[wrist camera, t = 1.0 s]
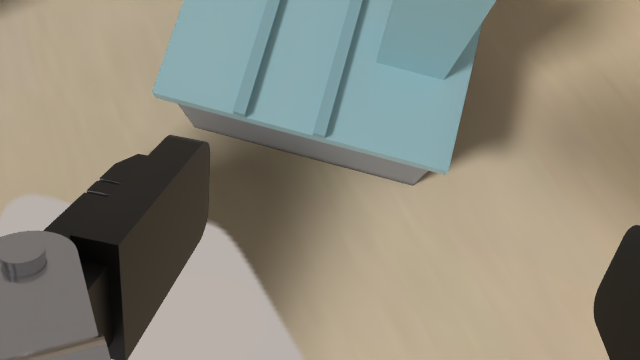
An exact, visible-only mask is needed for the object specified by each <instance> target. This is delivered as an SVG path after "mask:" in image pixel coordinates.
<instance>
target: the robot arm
mask: <svg viewBox="0 0 640 360" xmlns="http://www.w3.org/2000/svg"><path fill="white" fill-rule="evenodd" d="M209 174H210V147H209V144H208V143H207V142H205V141H200V140H194V139H189V138H184V137H179V136H173V135H169V136H167V137H166V138H165V139H164V140H163V141H162V142H161V143H160V144H159V145H158V146H157V147H156V148H155V149H154V150H153V151H152V152H151V153H150V154H149V155H148V156H146V155H141V154H137V155H135V156H132V157H130V158H128V159H125V160H123V161H121V162H118V163H116V164H114V165H113V166H112V167H111V168H110V169H109V170H108V171H107V172H106V173H105V174H104V175H103V176H102V177H100V181H96V182H95V183H94V184H93V185H92V186H91V187H90V188H89V189H88V190H87V193H83V194H82V195H81V196H80V197H79V198H78V199H77V200H76V201H75V202H74V203H73V204H71V205H70V207H68V208H67V209H66V210H65V211H64V212H63V213H62V214H61V215H60V216H59V217H58V218H56V219H55V220H54V221H53V222H52V223H51V224H50V225H49V226H48V227H47V228H46V229H45V230H44V231H26V232H18V233H13V234H9V235H6V236H2V237H0V360H111V359H114V360H127V359H128V358H129V356H130V354H131V353H132V351H133V350H134V348H135V346H136V345H137V343H138V341H139V340H140V338H141V337H142V335H143V333H144V332H145V330H146V328H147V326H148V325H149V323H150V322H151V320H152V318H153V317H154V315H155V314H156V312H157V310H158V308H159V307H160V305H161V304H162V302H163V300H164V299H165V297H166V296H167V294H168V292H169V291H170V289H171V287H172V286H173V284H174V282H175V281H176V279H177V277H178V276H179V274H180V273H181V271H182V269H183V268H184V266H185V264H186V263H187V261H188V259H189V258H190V256H191V255H192V253H193V251H194V250H195V248H196V246H197V244H198V243H199V241H200V240H201V237H202V235H203V232H204V229H205V226H206V222H207V216H208V202H209ZM594 319H595V323H596V326H597V328H598V331H599V333H600V336H601V338H602V341H603V343H604V346H605V348H606V351H607V353H608V356H609V359H610V360H640V226H639V225H635V226H632V227H631V228H630V229H629V230H628V231H627V232H626V233H625V235H624V237H623V239H622V241H621V243H620V245H619V247H618V249H617V251H616V253H615V255H614V257H613V259H612V261H611V263H610V265H609V267H608V269H607V271H606V273H605V275H604V278H603V280H602V282H601V284H600V286H599V288H598V290H597V293H596V296H595V301H594Z"/></svg>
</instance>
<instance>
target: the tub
mask: <svg viewBox="0 0 640 360" xmlns="http://www.w3.org/2000/svg"><path fill="white" fill-rule="evenodd" d="M178 105H179V106H180V107H181V109H182V110H183V112H184V113H185V114H186V116H187V117H188V119H189V120H190V121H191V123H192V124H193V126H194V127H196V128H200V129H203V130H207V131H211V132H215V133H218V134H222V135H226V136H230V137H233V138H237V139H241V140H244V141H248V142H252V143H256V144H259V145H263V146H267V147H271V148H274V149H278V150H282V151H286V152H289V153H293V154H297V155H300V156H304V157H308V158H312V159H315V160H319V161H323V162H327V163H330V164H334V165H338V166H341V167H345V168H349V169H353V170H356V171H360V172H364V173H368V174H371V175H375V176H379V177H383V178H386V179H390V180H394V181H397V182H401V183H405V184H409V185H412V186H413V185H414V184H415V183H416V182H417V181H418V180H419V179H420V178H421V177H422V176H423V175H424V174H425V173H426V172H428V170H425V169H421V168H417V167H413V166H410V165H406V164H402V163H398V162H395V161H391V160H387V159H383V158H380V157H376V156H372V155H368V154H365V153H361V152H357V151H353V150H350V149H346V148H342V147H338V146H335V145H331V144H327V143H323V142H320V141H316V140H312V139H308V138H305V137H301V136H297V135H293V134H290V133H286V132H282V131H278V130H275V129H271V128H267V127H263V126H260V125H256V124H252V123H248V122H245V121H241V120H237V119H234V118H230V117H226V116H222V115H219V114H215V113H211V112H207V111H204V110H200V109H196V108H192V107H189V106H185V105H181V104H178Z"/></svg>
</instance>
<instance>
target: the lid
mask: <svg viewBox="0 0 640 360" xmlns="http://www.w3.org/2000/svg"><path fill="white" fill-rule="evenodd" d="M495 2H496V0H184V1H183V4H182V7H181V10H180V13H179V16H178V18H177V21H176V24H175V27H174V30H173V33H172V36H171V39H170V42H169V45H168V48H167V50H166V53H165V56H164V59H163V62H162V65H161V68H160V71H159V74H158V77H157V79H156V82H155V85H154V88H153V91H152V93H153V94H154V96H155V97H156V98H159V99H162V100H166V101H170V102H174V103H177V104H181V105H185V106H189V107H192V108H196V109H200V110H204V111H207V112H211V113H215V114H219V115H222V116H226V117H230V118H234V119H237V120H241V121H245V122H248V123H252V124H256V125H260V126H263V127H267V128H271V129H275V130H278V131H282V132H286V133H290V134H293V135H297V136H301V137H305V138H308V139H312V140H316V141H320V142H323V143H327V144H331V145H335V146H338V147H342V148H346V149H350V150H353V151H357V152H361V153H365V154H368V155H372V156H376V157H380V158H383V159H387V160H391V161H395V162H398V163H402V164H406V165H410V166H413V167H417V168H421V169H425V170H428V171H432V172H436V173H440V174H443V175H445V174H446V173H447V172H448V171H449V167H450V162H451V158H452V153H453V149H454V145H455V140H456V136H457V132H458V127H459V123H460V119H461V114H462V110H463V106H464V101H465V97H466V93H467V88H468V84H469V80H470V75H471V71H472V66H473V62H474V58H475V53H476V49H477V45H478V40H479V36H480V32H481V27H482V23H483V20H484V19H485V17H486V16H487V14H488V13H489V11H490V10H491V8H492V6H493V5H494V3H495Z"/></svg>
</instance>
